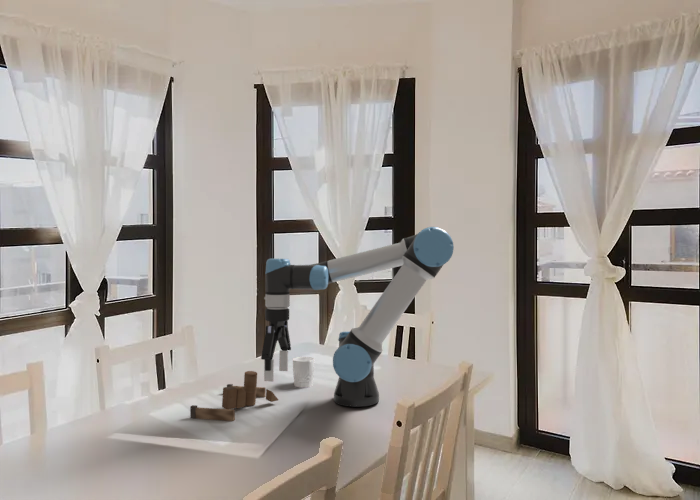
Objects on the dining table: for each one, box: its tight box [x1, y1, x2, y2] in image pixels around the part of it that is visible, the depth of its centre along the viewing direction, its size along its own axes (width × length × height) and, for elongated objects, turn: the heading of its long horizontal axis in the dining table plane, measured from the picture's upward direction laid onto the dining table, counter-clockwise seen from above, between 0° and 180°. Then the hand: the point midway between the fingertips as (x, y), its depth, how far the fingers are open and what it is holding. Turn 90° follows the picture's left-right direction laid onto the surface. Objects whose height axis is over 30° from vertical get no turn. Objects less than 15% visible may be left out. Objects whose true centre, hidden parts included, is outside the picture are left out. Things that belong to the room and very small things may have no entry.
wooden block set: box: [221, 370, 279, 410], centre depth 163 cm, size 18×9×10 cm, turn 135°
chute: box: [189, 383, 266, 422], centre depth 165 cm, size 14×26×4 cm, turn 168°
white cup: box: [292, 356, 315, 389], centre depth 189 cm, size 8×8×10 cm
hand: (276, 375), depth 161 cm, fingers open, 13 cm apart
